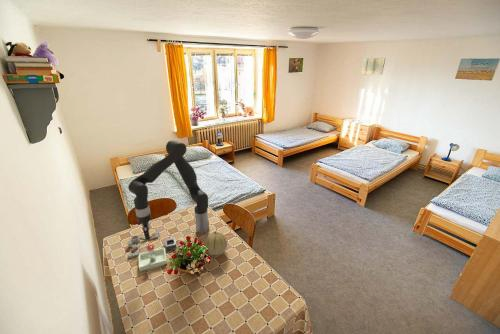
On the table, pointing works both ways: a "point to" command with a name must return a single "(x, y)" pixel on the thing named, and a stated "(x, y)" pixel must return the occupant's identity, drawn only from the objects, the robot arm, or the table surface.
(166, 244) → the tensioner block
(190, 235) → the table surface
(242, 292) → the table surface
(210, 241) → the cantaloupe
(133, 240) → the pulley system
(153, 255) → the lock pin
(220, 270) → the table surface
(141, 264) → the tray
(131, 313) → the table surface
